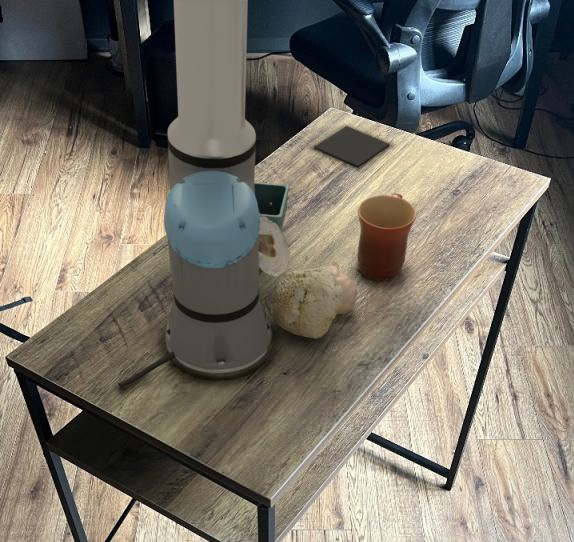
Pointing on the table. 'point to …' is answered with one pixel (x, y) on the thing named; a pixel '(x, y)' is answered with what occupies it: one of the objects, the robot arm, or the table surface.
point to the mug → (384, 235)
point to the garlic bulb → (345, 289)
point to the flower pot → (275, 195)
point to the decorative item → (307, 301)
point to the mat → (351, 146)
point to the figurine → (272, 248)
